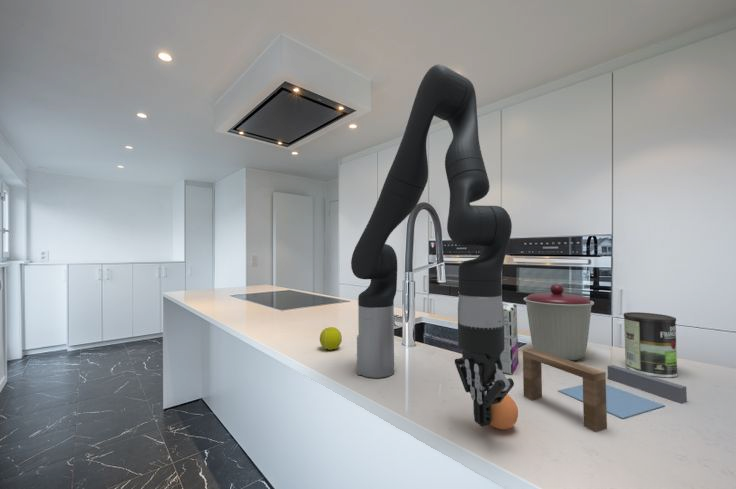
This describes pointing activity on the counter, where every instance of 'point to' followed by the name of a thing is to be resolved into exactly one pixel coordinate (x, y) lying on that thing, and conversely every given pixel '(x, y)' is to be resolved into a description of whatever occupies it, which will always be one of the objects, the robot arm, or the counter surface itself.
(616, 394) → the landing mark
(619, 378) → the stopper
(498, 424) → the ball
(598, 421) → the bridge
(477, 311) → the robot arm
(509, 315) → the candy bar box
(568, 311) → the canister
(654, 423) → the counter surface
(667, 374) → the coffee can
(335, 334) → the tennis ball
